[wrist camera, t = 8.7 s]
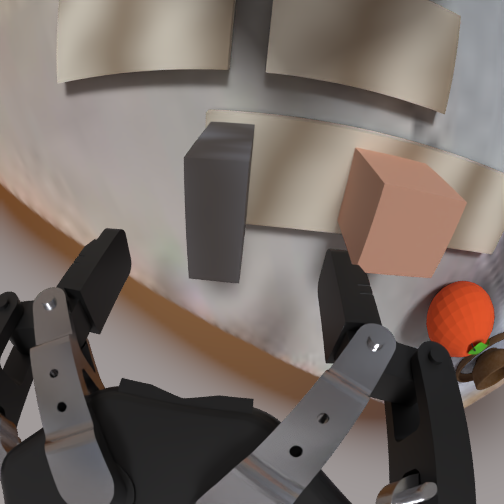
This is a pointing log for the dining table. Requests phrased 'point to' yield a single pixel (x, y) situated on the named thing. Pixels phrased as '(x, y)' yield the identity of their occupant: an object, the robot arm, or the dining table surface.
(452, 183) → the unbroken strip
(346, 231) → the terracotta block
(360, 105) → the dining table surface
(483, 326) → the clementine
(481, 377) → the brown cup and saucer
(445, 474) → the robot arm
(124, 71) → the broken strip
